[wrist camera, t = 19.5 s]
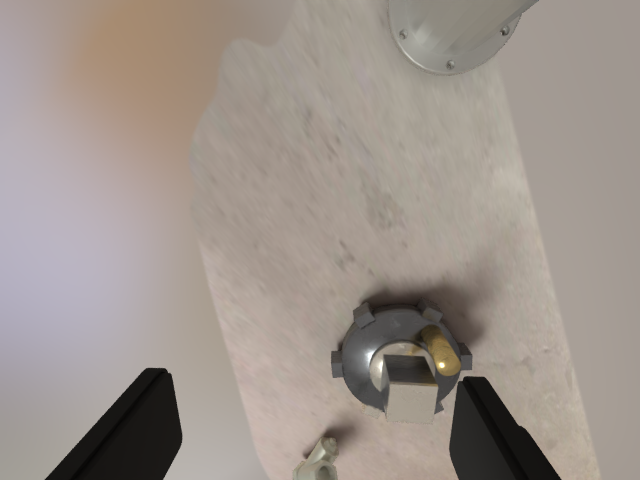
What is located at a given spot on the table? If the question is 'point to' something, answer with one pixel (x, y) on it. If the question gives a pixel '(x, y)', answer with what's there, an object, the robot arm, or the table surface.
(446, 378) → the sprocket
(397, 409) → the link block
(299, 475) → the pipe fitting
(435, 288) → the table surface
